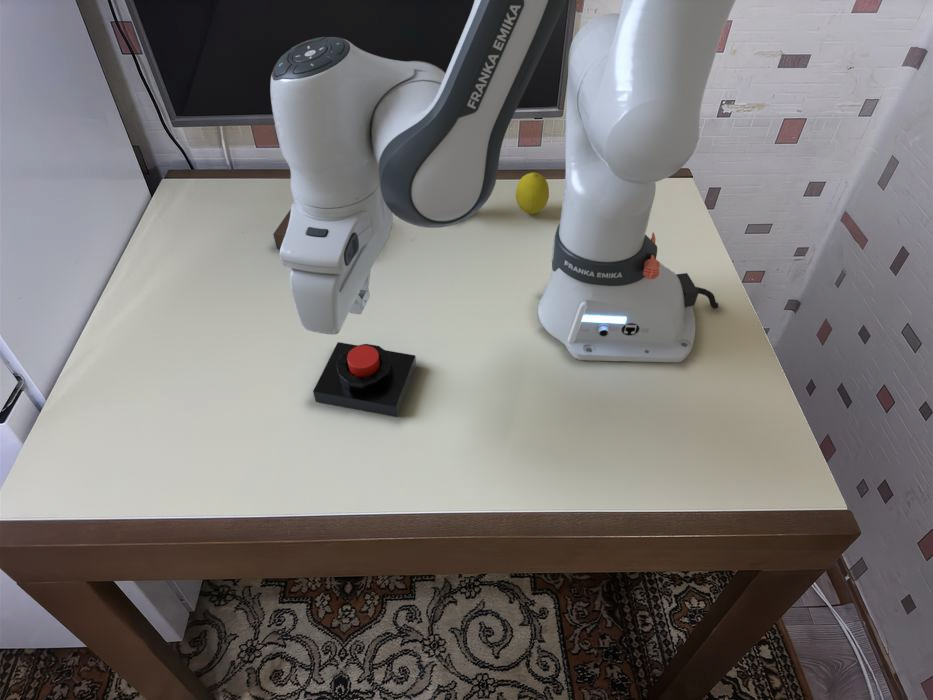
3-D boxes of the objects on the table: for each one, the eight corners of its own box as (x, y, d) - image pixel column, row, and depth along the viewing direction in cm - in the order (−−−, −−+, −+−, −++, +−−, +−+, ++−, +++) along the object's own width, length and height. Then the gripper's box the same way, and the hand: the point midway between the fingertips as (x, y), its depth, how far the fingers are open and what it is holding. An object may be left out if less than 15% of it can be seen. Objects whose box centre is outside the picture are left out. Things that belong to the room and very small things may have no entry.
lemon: (549, 207, 117) (554, 167, 111) (542, 225, 114) (546, 184, 108) (519, 202, 118) (521, 161, 112) (510, 219, 115) (513, 179, 109)
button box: (416, 366, 92) (414, 345, 89) (397, 417, 86) (394, 397, 83) (339, 352, 93) (335, 332, 90) (315, 402, 87) (310, 382, 84)
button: (383, 357, 88) (382, 347, 87) (374, 379, 85) (372, 370, 84) (354, 352, 88) (353, 342, 87) (344, 374, 86) (342, 365, 84)
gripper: (346, 152, 77) (362, 248, 87) (270, 264, 63) (301, 363, 73) (399, 157, 76) (409, 254, 86) (334, 273, 62) (355, 372, 72)
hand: (359, 305), depth 79 cm, fingers closed
